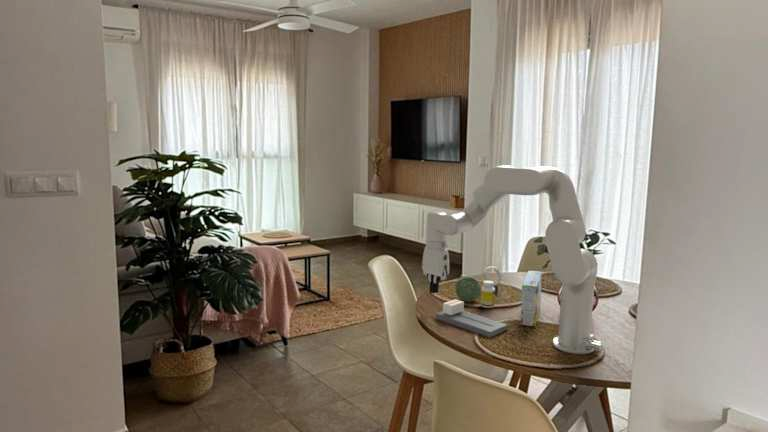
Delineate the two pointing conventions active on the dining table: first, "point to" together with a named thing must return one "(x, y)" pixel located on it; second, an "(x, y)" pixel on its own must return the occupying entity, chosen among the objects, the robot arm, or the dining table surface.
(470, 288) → the decorative artifact
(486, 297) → the supplement bottle
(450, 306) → the fader knob
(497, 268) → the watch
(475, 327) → the grey slider track base
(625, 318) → the dining table surface
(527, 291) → the snack box
